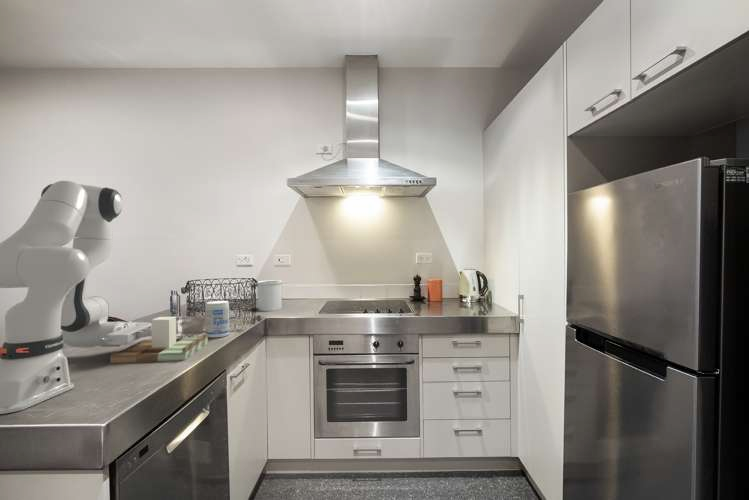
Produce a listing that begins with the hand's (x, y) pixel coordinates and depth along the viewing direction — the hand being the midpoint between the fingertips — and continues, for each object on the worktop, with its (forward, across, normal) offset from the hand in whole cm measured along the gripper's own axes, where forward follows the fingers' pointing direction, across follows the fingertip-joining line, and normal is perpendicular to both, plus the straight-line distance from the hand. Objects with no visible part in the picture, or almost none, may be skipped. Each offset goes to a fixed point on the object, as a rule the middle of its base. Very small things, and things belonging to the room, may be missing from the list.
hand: (155, 332), depth 135 cm
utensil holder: (+26, +91, +8) cm, 95 cm away
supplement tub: (+15, +24, +8) cm, 29 cm away
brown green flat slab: (+3, 0, +8) cm, 8 cm away
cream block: (+3, 0, +5) cm, 6 cm away
